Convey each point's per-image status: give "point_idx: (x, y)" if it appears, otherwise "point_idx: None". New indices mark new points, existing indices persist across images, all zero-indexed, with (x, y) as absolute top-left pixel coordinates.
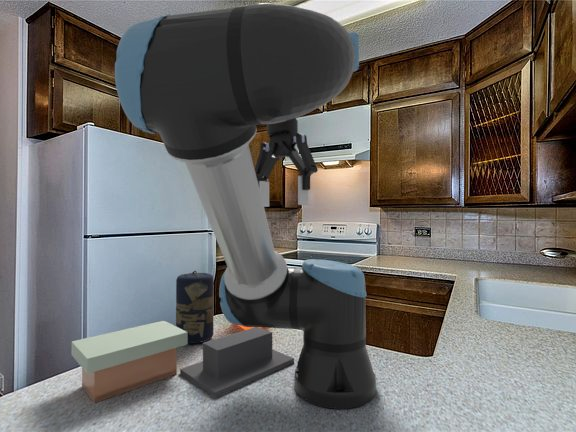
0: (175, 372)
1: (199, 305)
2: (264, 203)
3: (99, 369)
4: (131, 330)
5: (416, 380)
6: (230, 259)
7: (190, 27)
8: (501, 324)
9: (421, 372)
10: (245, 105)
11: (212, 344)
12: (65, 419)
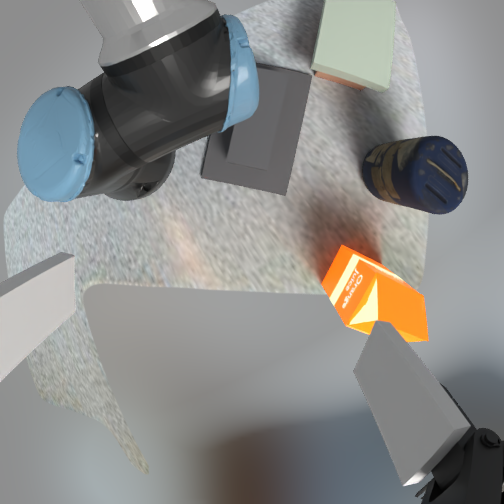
0: (315, 73)
1: (389, 153)
2: (373, 350)
3: None
4: (383, 42)
5: (76, 221)
6: None
7: None
8: (79, 408)
9: (77, 243)
10: None
11: (272, 76)
12: None
